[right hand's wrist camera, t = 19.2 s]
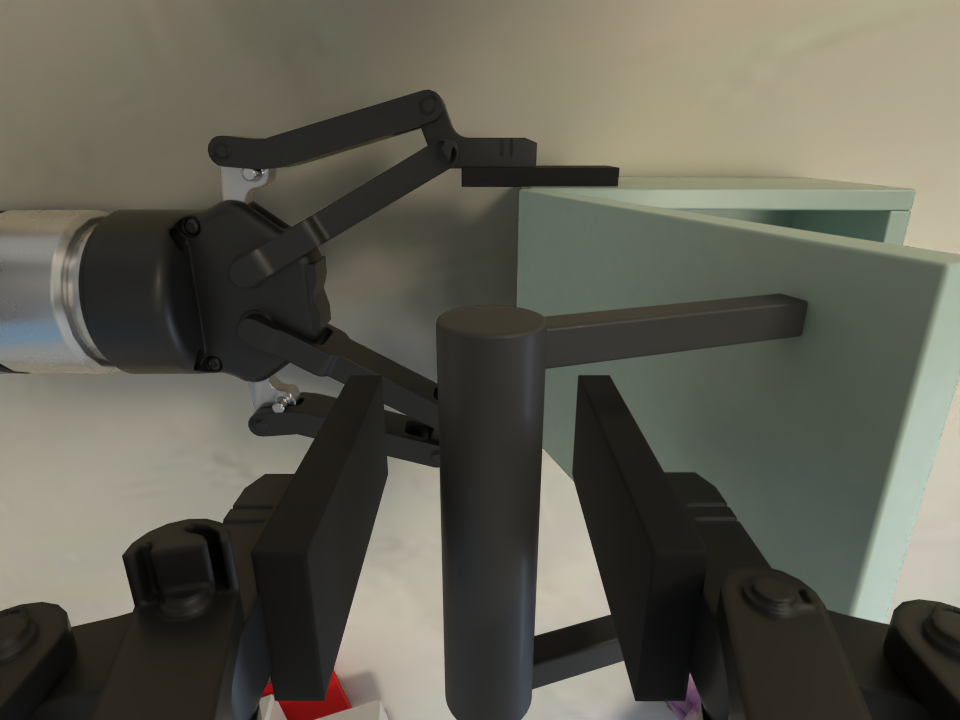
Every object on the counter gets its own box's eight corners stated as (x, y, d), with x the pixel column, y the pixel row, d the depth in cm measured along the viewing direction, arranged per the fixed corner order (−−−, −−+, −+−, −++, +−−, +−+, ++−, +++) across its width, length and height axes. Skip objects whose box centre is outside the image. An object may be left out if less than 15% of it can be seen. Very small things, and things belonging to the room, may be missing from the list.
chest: (806, 177, 31) (917, 189, 23) (775, 350, 35) (861, 415, 26) (521, 176, 32) (529, 187, 24) (517, 347, 35) (523, 410, 27)
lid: (997, 259, 9) (499, 303, 6) (855, 728, 12) (491, 878, 10) (543, 188, 23) (333, 193, 21) (534, 414, 26) (353, 442, 24)
